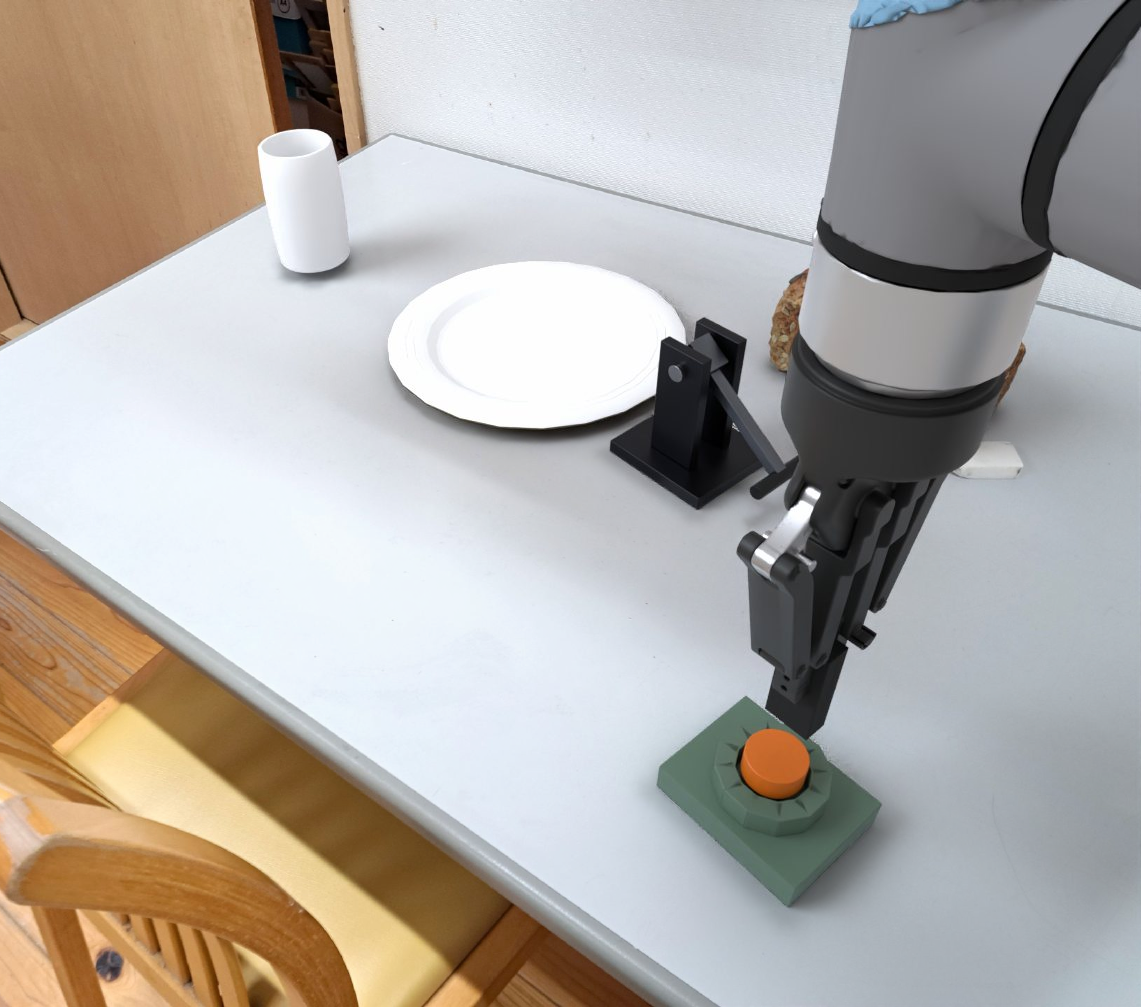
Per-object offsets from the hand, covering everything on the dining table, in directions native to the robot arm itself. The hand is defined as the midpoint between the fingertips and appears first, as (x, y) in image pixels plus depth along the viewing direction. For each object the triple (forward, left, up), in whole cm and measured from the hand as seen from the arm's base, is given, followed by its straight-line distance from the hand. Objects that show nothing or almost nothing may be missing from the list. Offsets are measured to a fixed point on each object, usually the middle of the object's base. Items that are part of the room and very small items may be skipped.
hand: (794, 716), depth 51 cm
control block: (0, 0, -10) cm, 10 cm away
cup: (+76, -15, -10) cm, 78 cm away
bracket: (+25, -21, -10) cm, 34 cm away
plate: (+46, -22, -10) cm, 52 cm away
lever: (+22, -21, -3) cm, 31 cm away
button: (0, 0, -6) cm, 6 cm away
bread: (+20, -41, -10) cm, 47 cm away
